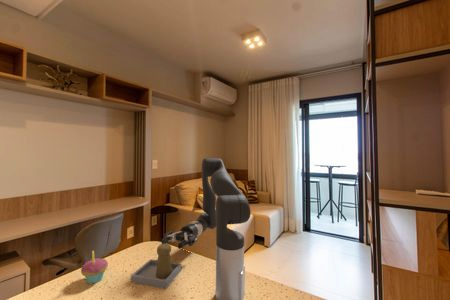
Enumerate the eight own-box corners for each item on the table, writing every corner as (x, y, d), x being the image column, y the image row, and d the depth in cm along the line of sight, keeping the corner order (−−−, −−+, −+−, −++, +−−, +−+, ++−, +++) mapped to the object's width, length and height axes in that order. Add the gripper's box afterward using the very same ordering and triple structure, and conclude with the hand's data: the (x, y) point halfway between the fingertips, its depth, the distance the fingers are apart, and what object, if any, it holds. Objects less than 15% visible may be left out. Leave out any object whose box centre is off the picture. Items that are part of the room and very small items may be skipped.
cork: (167, 279, 77) (167, 249, 77) (152, 277, 79) (152, 248, 78) (175, 270, 83) (174, 242, 83) (160, 268, 85) (160, 240, 84)
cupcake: (103, 284, 76) (104, 251, 76) (76, 288, 74) (76, 253, 74) (110, 271, 84) (110, 240, 84) (85, 274, 82) (86, 243, 82)
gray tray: (181, 270, 86) (181, 263, 86) (166, 289, 74) (166, 281, 74) (150, 265, 89) (150, 259, 89) (131, 282, 77) (131, 275, 77)
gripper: (179, 220, 106) (156, 232, 91) (204, 225, 100) (185, 238, 86) (179, 236, 106) (156, 249, 91) (204, 241, 100) (184, 257, 86)
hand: (170, 244), depth 89 cm, fingers open, 8 cm apart
